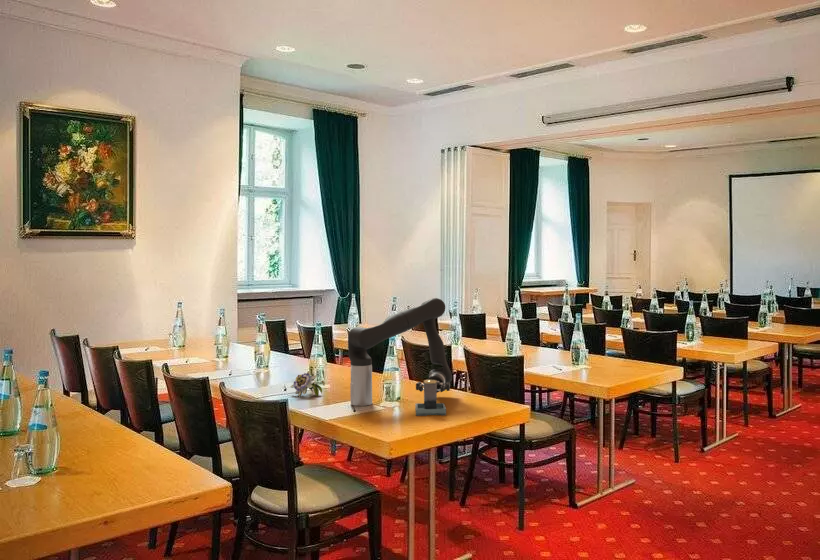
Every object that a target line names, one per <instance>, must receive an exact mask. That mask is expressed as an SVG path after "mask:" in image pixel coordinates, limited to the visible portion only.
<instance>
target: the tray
mask: <svg viewBox="0 0 820 560" xmlns="http://www.w3.org/2000/svg"><path fill="white" fill-rule="evenodd" d="M414 406H415V416H417V417H422V416H424V417H426V416H427V415H441V416H447V408H446V406H445V403H443V402H439V403H437V409H424V402H423V403H421V402H420V403H415V405H414Z"/></svg>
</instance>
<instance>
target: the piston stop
mask: <svg viewBox="0 0 820 560" xmlns="http://www.w3.org/2000/svg"><path fill="white" fill-rule="evenodd" d="M423 383H424V390H423V403H424V409H437V402H438V399H437V398H438V397H437V394H438V393H437V381H436V380H427V379H425V380H423Z"/></svg>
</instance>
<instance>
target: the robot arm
mask: <svg viewBox="0 0 820 560" xmlns="http://www.w3.org/2000/svg"><path fill="white" fill-rule="evenodd" d="M445 311H446V303H445V301H444V300H443V299H440V298H438V297H435V298H433V297H432V298H430V299H428V300H426V301H424V302H422V303H421V304H420V305H418V306H415V307H411V308H408V309H404V310H401V311H399V312H396V313H393V314H391V315H389V316H388V317H387V318H386V319H384V321H383V322H382V323H380V324H378V325H375V326H370V327H359V326H356V327H353V328H352V329H350V331H349V332H348V335H347V349H348V351H347V352H348V359H349V360H350V391H349V392H350V406H355V407H362V406H363V407H367V406H370V405H373V359H372V357H371V356H370V355H369V354H368V352H367V350H368V349H369V350H370V349H371V348H373V347H374V346H376V345H378V344H380V343H382V342H383V341H386V340H387V339H390V338H394V337H395V336H398V335H401V334H403V333H407V331H409V330H411V329H413V328H415V327H417V326H419V325H420V324H422V325H423V328H424V332H425V334H426V338H427V343H428V350H429V357H430V362H431V364H432V365H440V366H442V367H441V368H434V369H431V370H430V371H429V373H428V378H427V379H426V380H436V381H437V394H438V393H443V392H445V391H447V392H449V391H451V382H452V380H453V375H452V371H451V369H450V367H449V364H448V361H447V357H446V349H445V345H444V342H443V339H442V337H441V336H440V334H439V332H438V330H437V325H436V319H437V318H440V317H442V316H443V315H444V313H445ZM415 391H419V392H424V382H421V381H418V382H416V383H415Z"/></svg>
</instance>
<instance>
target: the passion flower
mask: <svg viewBox="0 0 820 560" xmlns="http://www.w3.org/2000/svg"><path fill="white" fill-rule="evenodd" d="M314 379H317V375H316V374H315V375H311V370H308V371H307V372H304V373H303V374H298V375H297V376H296V378H295V379H294V380H295V381H293V384H292V385H290V388H292V389H295V395H297V394H298V395H297V397H298V396H300V397H301V396H302V394H303V395H306V394H307V391H308V389H309V390H310V391H311V393H314V395H315V396H316V397H317V398H318V397H319V394H321V395H322V393H323V389H322V387H321V386H320V385H319V383H322V386H323V387H324V386H325V381H324V380H320V381H318V382H317V383H316V381H315V380H314ZM319 391H320V393H319Z"/></svg>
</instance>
